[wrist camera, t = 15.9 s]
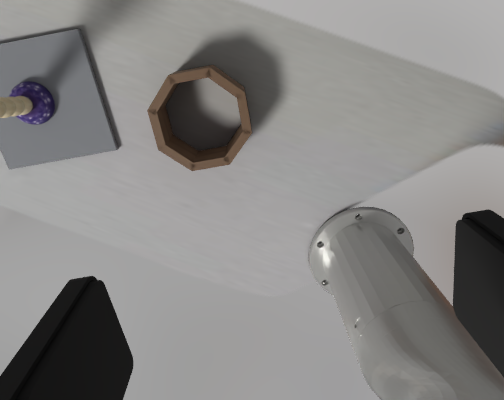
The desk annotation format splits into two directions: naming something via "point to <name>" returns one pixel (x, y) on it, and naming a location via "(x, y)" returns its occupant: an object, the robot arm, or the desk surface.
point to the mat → (65, 97)
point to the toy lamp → (28, 103)
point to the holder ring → (178, 147)
